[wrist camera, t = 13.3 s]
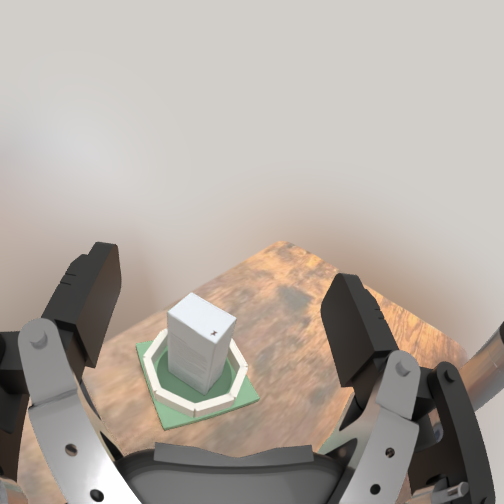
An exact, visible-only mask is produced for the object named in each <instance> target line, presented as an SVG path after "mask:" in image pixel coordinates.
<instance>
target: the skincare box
mask: <svg viewBox="0 0 504 504" xmlns="http://www.w3.org/2000/svg"><path fill="white" fill-rule="evenodd" d="M236 320H237V318H236V317H234V316H232V315H230V314H228V313H227V312H225V311H223V310H221V309H219V308H218V307H216V306H214V305H212V304H211V303H209V302H207V301H205V300H204V299H202V298H200V297H199V296H197V295H195V294H194V293H192V292H191V293H190V294H188V295H187V296H186V297H185V298H184V299H182V300H181V301H180V302H179V303H178V304H176V305H175V306H174V307H173V308H171V309H170V310H169V311H168V312H167V329H168V371H169V372H170V373H172V374H173V375H174V376H176V377H177V378H179V379H180V380H182V381H183V382H185V383H186V384H188V385H189V386H191V387H192V388H194V389H195V390H197V391H198V392H200V393H201V394H203V395H206V394H207V393H208V391H209V390H210V389H211V388H212V386H213V385H214V384H215V383H216V381H217V380H218V379H219V377H220V376H221V375H222V371H223V368H224V364H225V361H226V357H227V353H228V350H229V346H230V342H231V338H232V335H233V331H234V327H235V324H236Z"/></svg>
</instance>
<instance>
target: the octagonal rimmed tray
mask: <svg viewBox="0 0 504 504" xmlns="http://www.w3.org/2000/svg"><path fill="white" fill-rule="evenodd" d="M136 348H137V352H138V355H139V359H140V362H141V366H142V369H143V372H144V375H145V379H146V382H147V385H148V388H149V391H150V394H151V396H152V399H153V402H154V405H155V408H156V410H157V413H158V416H159V418H160V421H161V423H162V426H163V429H164V431H165V430H169V429H173V428H177V427H181V426H184V425H188V424H192V423H195V422H199V421H202V420H205V419H208V418H212V417H215V416H218V415H221V414H224V413H227V412H230V411H233V410H236V409H238V408H241V407H244V406H247V405H249V404H252V403H255V402H257V401H259V399H260V398H259V396H258V394H257V393H256V391H255V389H254V387H253V386H252V384H251V382H250V381H249V379H248V377H247V376H246V372H247V370H248V368H247V367H248V365H247V363H246V361H245V360H244V358H243V356H242V354H241V353H240V351H239V349H238V347H237V346H236V344H235V342H234V340H233V339H232V338H231V342H230V346H229V350H228V353H227V357H226V361H225V364H224V368H223V371H222V375H221V376H220V377H219V379H218V380H217V381H216V383H215V384H214V385H213V386H212V388H211V389H210V390H209V391H208V393H207V394H206V395H203V394H201V393H200V392H198V391H197V390H195V389H194V388H192V387H191V386H189V385H188V384H186V383H185V382H183V381H182V380H180V379H179V378H177V377H176V376H174V375H173V374H172V373H170V372H169V371H168V329H163V331H161V332H160V333H159V334H158V336H157V337H156V339H155V340H153V341H148V342H142V343H137V344H136Z"/></svg>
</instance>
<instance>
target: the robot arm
mask: <svg viewBox="0 0 504 504" xmlns="http://www.w3.org/2000/svg"><path fill="white" fill-rule="evenodd" d="M118 253H119V252H118V246H117V245H116V244H110V243H103V242H96V243H95V244H94V246H93V247H92V249H91V251H90V252H89V254H88V255H85V254H82V255H80V256H79V257H78V258H77V259H75V260H74V261H73V262H72V263H71V264H70V266H69V268H68V269H67V271H66V273H65V275H64V276H63V278H62V279H61V281H60V284H59V285H58V286H57V288H56V290H55V292H54V293H53V295H52V297H51V299H50V301H49V303H48V305H47V307H46V308H45V311H44V312H43V314H42V316H41V318H38V319H34V320H31V321H29V322H28V323H27V324H25V325H24V326H23V328H22V329H21V331H16V332H0V504H28V499H27V497H26V495H25V494H24V493H23V491H22V489H21V488H20V486H19V485H18V484H17V470H18V460H19V451H20V444H21V437H22V431H23V425H24V420H25V415H26V410H27V406H28V401H29V397H31V401H32V406H30V407H29V408H28V413H29V418H30V421H31V424H32V427H33V430H34V433H35V435H36V438H37V441H38V443H39V446H40V448H41V450H42V453H43V455H44V457H45V460H46V462H47V464H48V466H49V468H50V470H51V473H52V475H53V477H54V479H55V481H56V482H57V484H58V486H59V488H60V490H61V492H62V494H63V495H64V497H65V499H66V501H67V503H66V504H395V502H396V500H397V497H398V495H399V492H400V490H401V487H402V484H403V482H404V479H405V476H406V473H407V470H408V476H409V481H410V487H411V493H412V498H411V499H410V500H408V501H406V502H405V504H495V491H494V485H493V480H492V475H491V470H490V465H489V461H488V457H487V453H486V449H485V445H484V442H483V439H482V435H481V431H480V428H479V425H478V422H477V419H476V416H475V413H474V412H475V411H476V410H478V409H479V408H480V407H482V406H483V405H484V404H485V403H487V402H488V401H489V400H490V399H492V398H493V397H494V396H495V395H496V394H498V393H499V392H500V391H501V390H502V389H503V388H504V322H503V323H502V324H501V326H500V327H499V328H498V329H497V331H496V332H495V333H494V334H493V335H492V336H491V338H490V339H489V340H488V341H487V342H486V343H485V344H484V345H483V346H482V348H481V349H480V350H479V351H478V352H477V353H476V354H475V355H474V356H473V357H472V358H471V359H470V360H469V361H468V362H467V363H466V364H465V365H464V366H463V367H462V368H461V369H460V370H459V371H458V370H457V369H456V367H455V366H454V365H452V364H451V363H449V362H441V363H439V364H438V365H437V366H436V367H435V368H434V369H429V368H424V367H420V366H419V364H418V362H417V361H416V359H415V358H414V357H413V356H412V355H411V354H409V353H407V352H405V351H402V350H399V348H398V346H397V344H396V341H395V339H394V337H393V335H392V333H391V330H390V328H389V326H388V324H387V322H386V320H384V316H383V313H382V311H380V307H379V305H378V303H377V301H376V299H375V298H374V297H373V296H372V295H371V293H370V292H369V291H368V290H367V289H364V287H363V285H362V283H361V281H360V279H359V277H358V276H357V275H350V274H343V273H338V274H337V275H336V276H335V278H334V280H333V282H332V284H331V286H330V288H329V289H328V291H327V293H326V295H325V297H324V299H323V301H322V304H321V318H322V321H323V325H324V328H325V331H326V335H327V338H328V341H329V345H330V348H331V352H332V355H333V359H334V362H335V366H336V369H337V373H338V377H339V380H340V384H341V388H342V387H353V389H354V392H353V393H352V394H351V395H350V397H349V400H348V402H347V404H346V406H345V408H344V410H343V413H342V415H341V417H340V419H339V421H338V423H337V425H336V427H335V429H334V431H333V433H332V434H331V436H330V437H329V438H328V439H327V440H326V441H325V442H324V444H323V445H322V446H321V448H320V449H319V451H318V452H317V453H315V452H313V451H312V445H305V446H295V447H283V448H274V449H271V450H267V451H264V452H260V453H257V454H253V455H249V456H245V457H241V458H234V457H229V456H225V455H221V454H218V453H214V452H210V451H207V450H203V449H200V448H197V447H190V446H180V445H172V444H164V443H157V442H155V449H146V450H141V451H137V452H134V453H131V454H129V455H127V456H125V455H124V453H123V452H122V450H121V448H120V447H119V445H118V443H117V442H116V440H115V438H114V437H113V435H112V434H111V432H110V431H109V429H108V428H107V426H106V424H105V423H104V421H103V419H102V417H101V415H100V413H99V411H98V409H97V407H96V405H95V403H94V401H93V399H92V397H91V394H90V392H89V390H88V388H87V386H86V383H85V381H84V379H83V376H82V375H83V371H84V368H85V366H87V367H91V368H95V367H96V364H97V360H98V357H99V353H100V350H101V347H102V343H103V340H104V337H105V334H106V331H107V328H108V325H109V322H110V319H111V316H112V313H113V310H114V308H115V305H116V302H117V299H118V297H119V294H120V289H121V271H120V262H119V254H118ZM435 408H437V411H438V414H439V417H440V421H441V424H442V428H443V437H442V439H441V441H440V442H438V443H437V442H436V440H435V436H434V432H433V429H432V425H431V422H430V418H429V415H428V413H430V412H431V411H432V410H434V409H435Z"/></svg>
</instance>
